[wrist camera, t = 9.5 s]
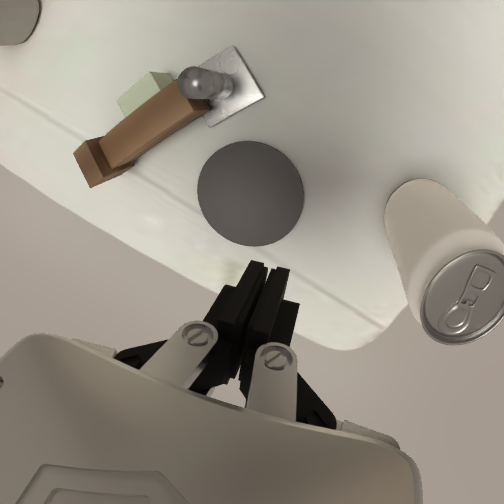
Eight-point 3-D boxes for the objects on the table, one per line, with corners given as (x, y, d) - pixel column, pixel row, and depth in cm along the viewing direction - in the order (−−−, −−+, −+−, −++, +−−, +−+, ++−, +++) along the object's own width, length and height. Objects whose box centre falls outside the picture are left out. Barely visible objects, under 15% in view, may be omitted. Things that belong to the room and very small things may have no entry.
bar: (212, 114, 21) (186, 116, 18) (120, 174, 26) (90, 188, 22) (192, 77, 20) (163, 73, 17) (105, 143, 25) (73, 153, 21)
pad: (271, 122, 22) (270, 122, 21) (321, 222, 24) (321, 224, 24) (182, 171, 25) (179, 172, 25) (231, 257, 28) (229, 259, 28)
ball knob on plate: (234, 46, 19) (206, 32, 15) (265, 97, 21) (244, 94, 16) (184, 78, 22) (147, 75, 17) (212, 126, 23) (180, 133, 18)
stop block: (169, 73, 22) (149, 71, 19) (179, 91, 22) (160, 91, 20) (137, 99, 23) (116, 100, 21) (146, 116, 24) (126, 119, 21)
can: (372, 238, 24) (389, 337, 13) (398, 165, 20) (450, 220, 10) (435, 260, 23) (479, 359, 12) (465, 194, 20) (541, 265, 9)
